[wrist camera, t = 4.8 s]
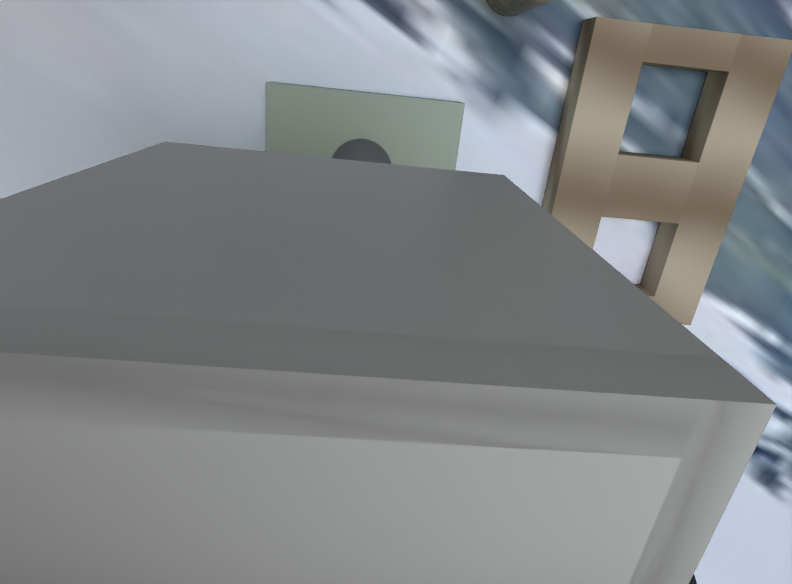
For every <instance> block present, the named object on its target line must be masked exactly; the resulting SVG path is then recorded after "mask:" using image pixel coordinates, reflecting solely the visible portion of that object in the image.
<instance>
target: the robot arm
mask: <svg viewBox="0 0 792 584" xmlns="http://www.w3.org/2000/svg"><path fill="white" fill-rule="evenodd" d="M689 584H697V583H696V580H695V576H694V574H693V576H692V578H691V580H690V582H689Z"/></svg>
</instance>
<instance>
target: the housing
mask: <svg viewBox="0 0 792 584" xmlns="http://www.w3.org/2000/svg"><path fill="white" fill-rule="evenodd" d="M776 405H777V404H776V403H774V402H773V401H772V400H771V399H770V398H768V397H767V396H766V395H765V394H764V393H763V392H761V391H760V390H759V389H758V388H757V387H755V386H754V385H753V384H752V383H751V382H749V381H748V380H747V379H746V378H745V377H743V376H742V375H741V374H740V373H739V372H738V371H736V370H735V369H734V368H733V367H732V366H730V365H729V364H728V363H727V362H726V361H724V360H723V359H722V358H721V357H720V356H719V355H717V354H716V353H715V352H714V351H713V350H711V349H710V348H709V347H708V346H707V345H705V344H704V343H703V342H702V341H701V340H699V339H698V338H697V337H696V336H695V335H694V334H692V333H691V332H690V331H689V330H688V329H686V328H685V327H684V326H683V325H682V324H680V323H679V322H678V321H677V320H676V319H674V318H673V317H672V316H671V315H670V314H669V313H667V312H666V311H665V310H664V309H663V308H661V307H660V306H659V305H658V304H657V303H655V302H654V301H653V300H652V299H651V298H650V297H648V296H647V295H646V294H645V293H644V292H642V291H641V290H640V289H639V288H638V287H636V286H635V285H634V284H633V283H632V282H630V281H629V280H628V279H627V278H626V277H625V276H623V275H622V274H621V273H620V272H619V271H617V270H616V269H615V268H614V267H613V266H611V265H610V264H609V263H608V262H607V261H605V260H604V259H603V258H602V257H601V256H600V255H598V254H597V253H596V252H595V251H594V250H592V249H591V248H590V247H589V246H588V245H586V244H585V243H584V242H583V241H582V240H581V239H579V238H578V237H577V236H576V235H575V234H573V233H572V232H571V231H570V230H569V229H567V228H566V227H565V226H564V225H563V224H561V223H560V222H559V221H558V220H557V219H556V218H554V217H553V216H552V215H551V214H550V213H548V212H547V211H546V210H545V209H544V208H542V207H541V206H540V205H539V204H538V203H537V202H535V201H534V200H533V199H532V198H531V197H529V196H528V195H527V194H526V193H525V192H523V191H522V190H521V189H520V188H519V187H517V186H516V185H515V184H514V183H513V182H512V181H510V180H509V179H508V178H507V177H506V176H504V175H497V174H487V173H477V172H467V171H457V170H446V169H436V168H426V167H416V166H406V165H396V164H385V163H375V162H365V161H355V160H345V159H335V158H325V157H314V156H304V155H294V154H284V153H274V152H264V151H253V150H243V149H233V148H223V147H213V146H203V145H192V144H182V143H172V142H163V143H160V144H157V145H154V146H151V147H148V148H145V149H143V150H140V151H137V152H134V153H131V154H128V155H125V156H123V157H120V158H117V159H114V160H111V161H108V162H105V163H102V164H100V165H97V166H94V167H91V168H88V169H85V170H82V171H80V172H77V173H74V174H71V175H68V176H65V177H62V178H59V179H57V180H54V181H51V182H48V183H45V184H42V185H39V186H37V187H34V188H31V189H28V190H25V191H22V192H19V193H16V194H14V195H11V196H8V197H5V198H2V199H0V584H689V582H690V580H691V578H692V576H693V574H694V572H695V570H696V568H697V566H698V564H699V562H700V560H701V558H702V556H703V554H704V552H705V550H706V548H707V546H708V544H709V542H710V540H711V537H712V535H713V533H714V531H715V529H716V527H717V525H718V523H719V521H720V519H721V517H722V515H723V513H724V511H725V509H726V507H727V505H728V503H729V501H730V499H731V497H732V495H733V493H734V491H735V488H736V486H737V484H738V482H739V480H740V478H741V476H742V474H743V472H744V470H745V468H746V466H747V464H748V462H749V460H750V458H751V456H752V454H753V452H754V450H755V448H756V446H757V444H758V442H759V440H760V437H761V435H762V433H763V431H764V429H765V427H766V425H767V423H768V421H769V419H770V417H771V415H772V413H773V411H774V409H775V407H776Z"/></svg>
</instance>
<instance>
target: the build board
mask: <svg viewBox="0 0 792 584" xmlns="http://www.w3.org/2000/svg"><path fill="white" fill-rule="evenodd" d="M791 53H792V40H786V39H777V38H769V37H761V36H752V35H744V34H736V33H727V32H719V31H711V30H702V29H694V28H686V27H677V26H669V25H661V24H652V23H644V22H636V21H628V20H619V19H611V18H603V17H594V18H590V19H586V20H583V22H582V27H581V31H580V36H579V40H578V45H577V49H576V54H575V59H574V63H573V68H572V72H571V77H570V81H569V86H568V90H567V95H566V100H565V104H564V109H563V113H562V118H561V122H560V127H559V132H558V136H557V141H556V145H555V150H554V154H553V159H552V164H551V168H550V173H549V177H548V182H547V186H546V191H545V196H544V200H543V205H542V208H544V209H545V210H546V211H547V212H548V213H550V214H551V215H552V216H553V217H554V218H556V219H557V220H558V221H559V222H560V223H561V224H563V225H564V226H565V227H566V228H567V229H569V230H570V231H571V232H572V233H573V234H575V235H576V236H577V237H578V238H579V239H581V240H582V241H583V242H584V243H585V244H586V245H588V246H589V247H590V248H591V249H592V250H593V246H594V242H595V238H596V235H597V231H598V227H599V223H600V220H601V216H603V217H614V218H624V219H635V220H646V221H656V222H660V225H659V228H658V231H657V234H656V237H655V241H654V244H653V247H652V250H651V253H650V256H649V260H648V263H647V266H646V269H645V272H644V275H643V278H642V282H641V285H638V284H634V285H635V286H636V287H638V288H639V289H640V290H641V291H642V292H644V293H645V294H646V295H647V296H648V297H650V298H651V299H652V300H653V301H654V302H655V303H657V304H658V305H659V306H660V307H661V308H663V309H664V310H665V311H666V312H667V313H669V314H670V315H671V316H672V317H673V318H674V319H676V320H677V321H678V322H679V323H680V324H684V325H691V322H692V319H693V317H694V314H695V311H696V308H697V306H698V303H699V300H700V298H701V295H702V292H703V290H704V287H705V284H706V282H707V279H708V276H709V274H710V271H711V268H712V266H713V263H714V260H715V257H716V255H717V252H718V249H719V247H720V244H721V241H722V239H723V236H724V233H725V231H726V228H727V225H728V223H729V220H730V217H731V214H732V212H733V209H734V206H735V204H736V201H737V198H738V196H739V193H740V190H741V188H742V185H743V182H744V180H745V177H746V174H747V172H748V169H749V166H750V163H751V161H752V158H753V155H754V153H755V150H756V147H757V145H758V142H759V139H760V137H761V134H762V131H763V129H764V126H765V123H766V120H767V118H768V115H769V112H770V110H771V107H772V104H773V102H774V99H775V96H776V94H777V91H778V88H779V86H780V83H781V80H782V77H783V75H784V72H785V69H786V67H787V64H788V61H789V59H790V56H791ZM642 64H645V65H654V66H662V67H671V68H680V69H689V70H697V71H706V72H708V74H707V77H706V80H705V83H704V86H703V89H702V92H701V96H700V99H699V102H698V105H697V108H696V111H695V114H694V118H693V121H692V124H691V127H690V130H689V133H688V137H687V140H686V143H685V146H684V149H683V152H682V155H681V158H680V157H670V156H661V155H651V154H641V153H632V152H622V151H619V149H620V145H621V141H622V138H623V134H624V130H625V127H626V123H627V119H628V115H629V112H630V108H631V104H632V100H633V97H634V93H635V89H636V86H637V82H638V78H639V74H640V71H641V67H642Z"/></svg>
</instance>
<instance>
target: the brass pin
mask: <svg viewBox="0 0 792 584" xmlns="http://www.w3.org/2000/svg"><path fill="white" fill-rule="evenodd" d="M550 1H552V0H487V2H488V4H489V5H490V7H491V8H492V9H493V10H494V11H495V12H496V13H498V14H500V15H503V16H516V15H518V14H521V13H523V12H526V11H528V10H531V9H533V8H535V7H538V6H540V5H543V4H545V3H547V2H550Z"/></svg>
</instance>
